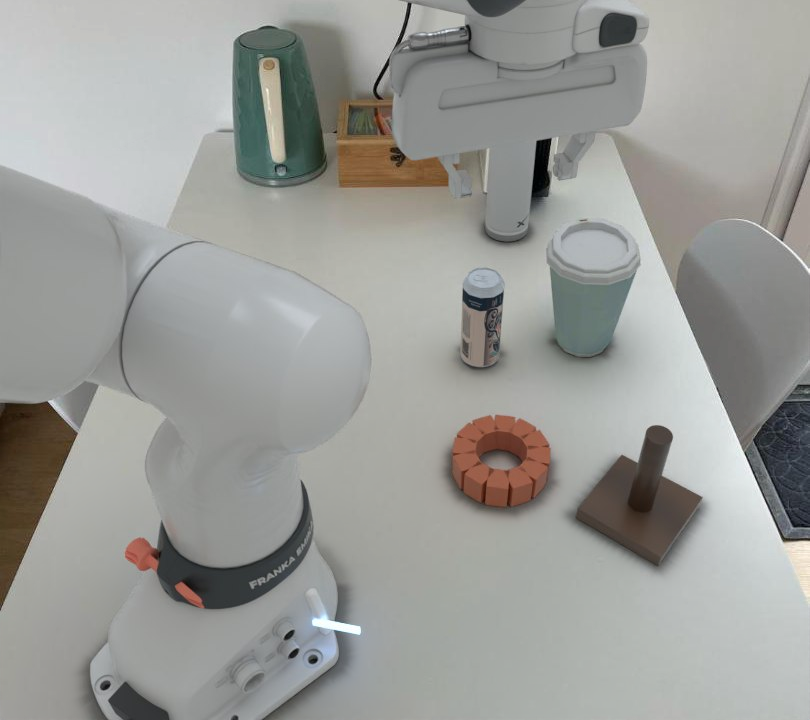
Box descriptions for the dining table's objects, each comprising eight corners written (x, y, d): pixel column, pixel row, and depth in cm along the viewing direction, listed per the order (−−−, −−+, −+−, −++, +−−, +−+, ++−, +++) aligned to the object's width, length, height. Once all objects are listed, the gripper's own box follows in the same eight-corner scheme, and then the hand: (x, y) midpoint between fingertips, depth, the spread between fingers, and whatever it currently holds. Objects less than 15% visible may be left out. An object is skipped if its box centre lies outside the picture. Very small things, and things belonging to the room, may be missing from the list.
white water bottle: (532, 242, 117) (545, 111, 103) (486, 242, 117) (493, 111, 103) (527, 218, 121) (540, 90, 108) (483, 219, 122) (490, 90, 108)
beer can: (496, 372, 97) (502, 292, 89) (457, 367, 98) (459, 288, 89) (501, 346, 100) (507, 267, 92) (463, 341, 101) (466, 263, 93)
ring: (512, 523, 81) (514, 504, 79) (433, 474, 85) (433, 455, 83) (565, 463, 86) (568, 444, 84) (488, 420, 91) (489, 401, 89)
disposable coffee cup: (636, 364, 97) (659, 262, 87) (549, 375, 96) (562, 273, 86) (606, 309, 105) (625, 210, 95) (525, 319, 104) (536, 219, 94)
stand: (658, 566, 77) (683, 489, 69) (575, 517, 81) (590, 440, 73) (699, 506, 82) (727, 428, 74) (619, 463, 86) (638, 385, 78)
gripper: (400, 53, 55) (405, 226, 64) (670, 16, 59) (638, 184, 68) (376, 21, 60) (384, 187, 69) (629, -12, 63) (604, 149, 73)
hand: (512, 185), depth 69 cm, fingers open, 8 cm apart
